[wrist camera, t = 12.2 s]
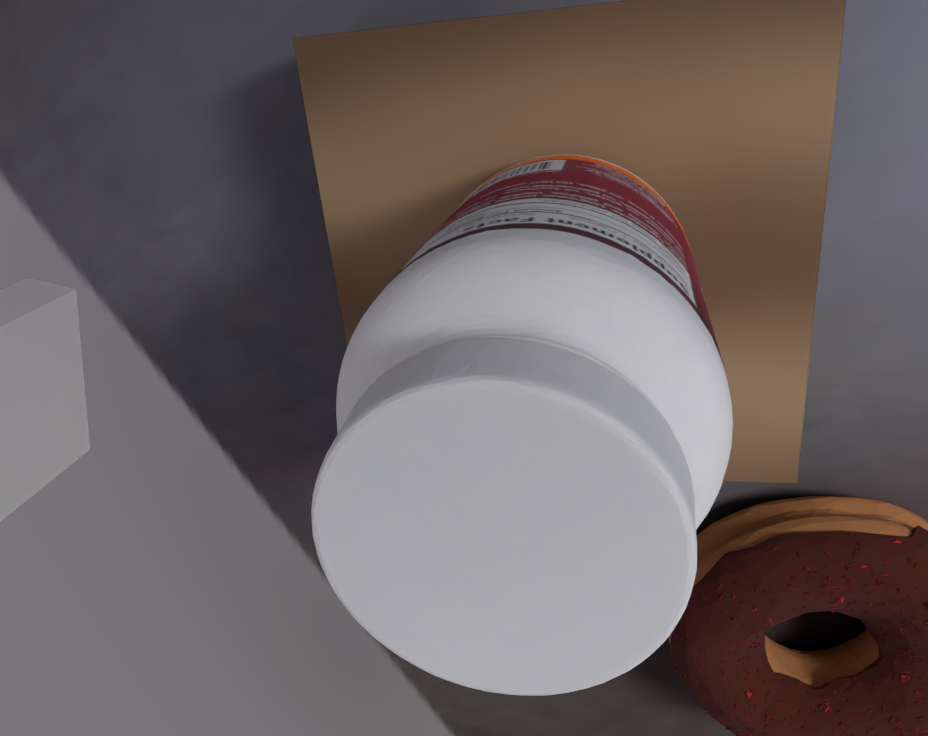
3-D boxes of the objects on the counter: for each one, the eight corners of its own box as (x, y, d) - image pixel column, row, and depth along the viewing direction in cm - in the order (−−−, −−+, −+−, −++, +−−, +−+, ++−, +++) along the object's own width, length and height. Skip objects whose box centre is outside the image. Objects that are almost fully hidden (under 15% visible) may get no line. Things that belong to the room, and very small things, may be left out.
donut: (645, 671, 29) (647, 762, 26) (676, 458, 25) (683, 532, 21) (926, 714, 27) (971, 818, 24) (1011, 493, 23) (1079, 578, 20)
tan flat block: (349, 34, 21) (292, 38, 17) (806, -17, 18) (848, -24, 15) (404, 409, 26) (369, 471, 22) (771, 411, 23) (796, 483, 20)
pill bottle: (614, 424, 20) (597, 811, 10) (408, 322, 20) (196, 614, 10) (746, 220, 17) (897, 489, 7) (506, 100, 17) (340, 212, 7)
